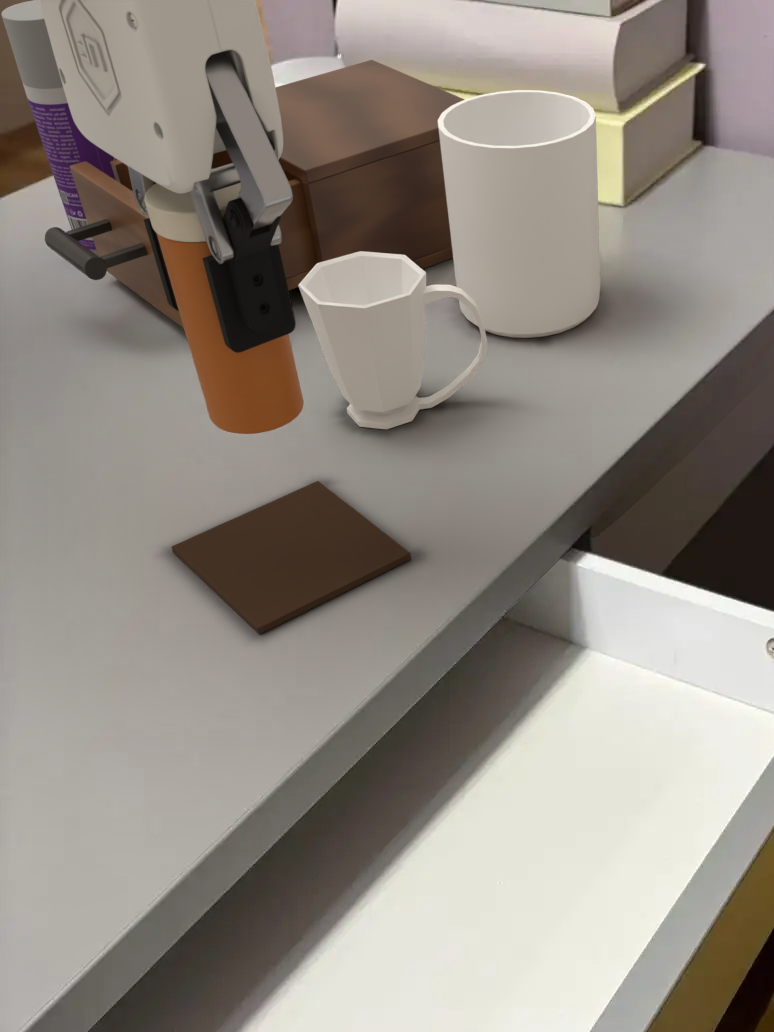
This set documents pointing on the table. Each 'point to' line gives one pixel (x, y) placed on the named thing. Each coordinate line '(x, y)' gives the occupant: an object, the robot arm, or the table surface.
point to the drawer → (128, 241)
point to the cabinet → (369, 161)
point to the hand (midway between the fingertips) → (231, 315)
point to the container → (52, 107)
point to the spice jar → (222, 372)
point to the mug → (523, 209)
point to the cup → (379, 333)
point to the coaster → (290, 555)
